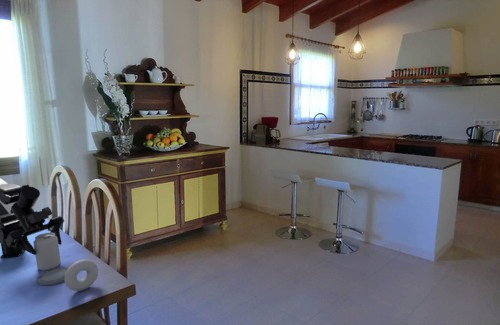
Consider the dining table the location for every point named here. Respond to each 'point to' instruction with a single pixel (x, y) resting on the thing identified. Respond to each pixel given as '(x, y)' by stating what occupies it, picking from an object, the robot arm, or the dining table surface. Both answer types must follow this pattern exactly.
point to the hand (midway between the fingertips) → (48, 249)
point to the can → (47, 251)
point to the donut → (86, 282)
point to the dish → (52, 277)
